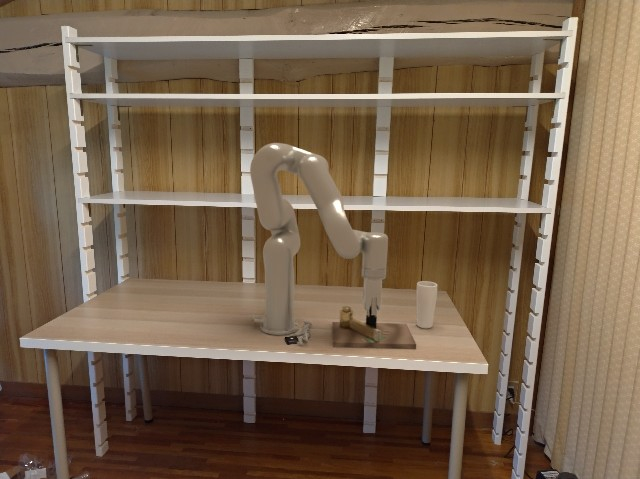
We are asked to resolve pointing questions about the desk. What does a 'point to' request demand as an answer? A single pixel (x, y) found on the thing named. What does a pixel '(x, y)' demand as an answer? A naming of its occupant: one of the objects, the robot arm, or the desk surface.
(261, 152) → the robot arm
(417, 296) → the drinking glass
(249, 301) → the desk surface
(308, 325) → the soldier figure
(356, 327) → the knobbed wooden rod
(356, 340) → the wooden cutting board
